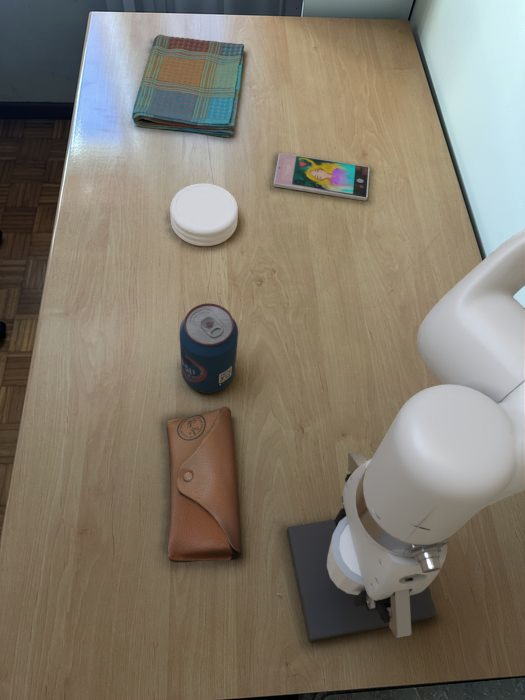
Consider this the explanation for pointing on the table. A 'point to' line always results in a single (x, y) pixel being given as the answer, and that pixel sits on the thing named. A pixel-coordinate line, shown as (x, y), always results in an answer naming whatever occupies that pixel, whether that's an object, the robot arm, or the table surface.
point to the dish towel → (190, 86)
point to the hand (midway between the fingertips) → (359, 559)
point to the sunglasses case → (203, 488)
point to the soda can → (208, 347)
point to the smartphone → (322, 176)
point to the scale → (334, 589)
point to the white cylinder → (344, 561)
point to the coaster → (204, 214)
